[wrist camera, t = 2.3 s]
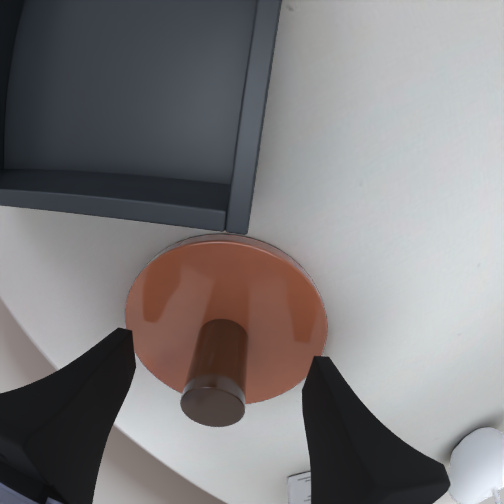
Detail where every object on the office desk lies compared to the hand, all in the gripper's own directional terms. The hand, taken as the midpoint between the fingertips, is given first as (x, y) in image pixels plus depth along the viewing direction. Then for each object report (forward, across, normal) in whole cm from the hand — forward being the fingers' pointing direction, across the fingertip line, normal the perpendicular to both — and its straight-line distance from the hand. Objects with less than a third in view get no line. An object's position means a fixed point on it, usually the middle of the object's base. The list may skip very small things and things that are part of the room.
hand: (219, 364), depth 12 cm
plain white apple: (+3, -22, +11) cm, 25 cm away
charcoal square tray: (+2, +6, -12) cm, 14 cm away
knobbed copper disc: (+2, 0, 0) cm, 2 cm away
